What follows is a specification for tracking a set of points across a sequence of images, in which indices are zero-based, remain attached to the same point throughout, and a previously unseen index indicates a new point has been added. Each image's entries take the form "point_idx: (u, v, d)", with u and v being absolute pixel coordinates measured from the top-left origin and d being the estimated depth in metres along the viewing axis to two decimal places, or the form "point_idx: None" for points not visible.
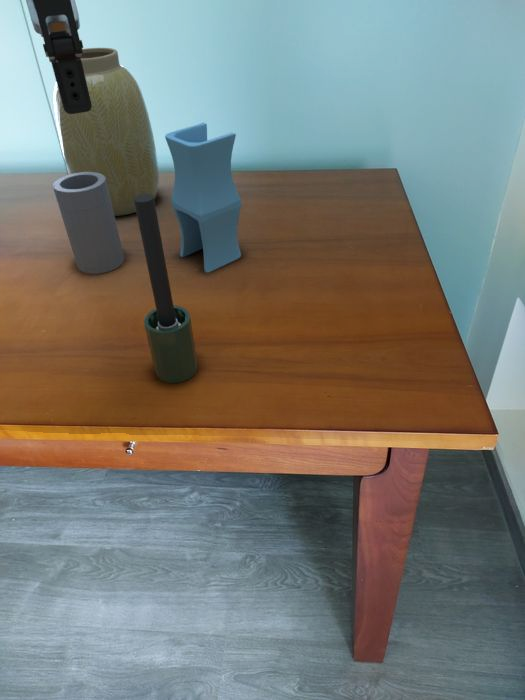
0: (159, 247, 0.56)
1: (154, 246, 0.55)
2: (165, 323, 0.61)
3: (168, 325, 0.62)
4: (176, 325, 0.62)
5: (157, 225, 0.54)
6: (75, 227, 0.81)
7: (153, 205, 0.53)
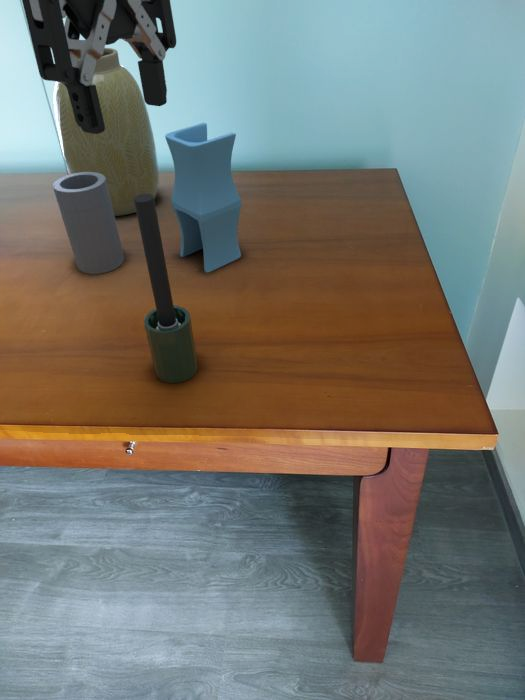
0: (159, 247, 0.56)
1: (154, 246, 0.55)
2: (165, 323, 0.61)
3: (168, 325, 0.62)
4: (176, 325, 0.62)
5: (157, 225, 0.54)
6: (75, 227, 0.81)
7: (153, 205, 0.53)
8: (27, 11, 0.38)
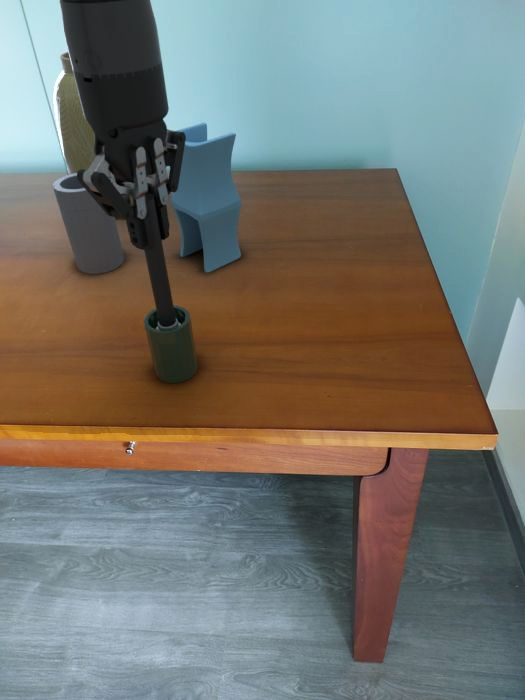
0: (159, 247, 0.56)
1: (154, 246, 0.55)
2: (165, 323, 0.61)
3: (168, 325, 0.62)
4: (176, 325, 0.62)
5: (158, 225, 0.54)
6: (75, 227, 0.81)
7: (154, 205, 0.53)
8: (86, 187, 0.47)
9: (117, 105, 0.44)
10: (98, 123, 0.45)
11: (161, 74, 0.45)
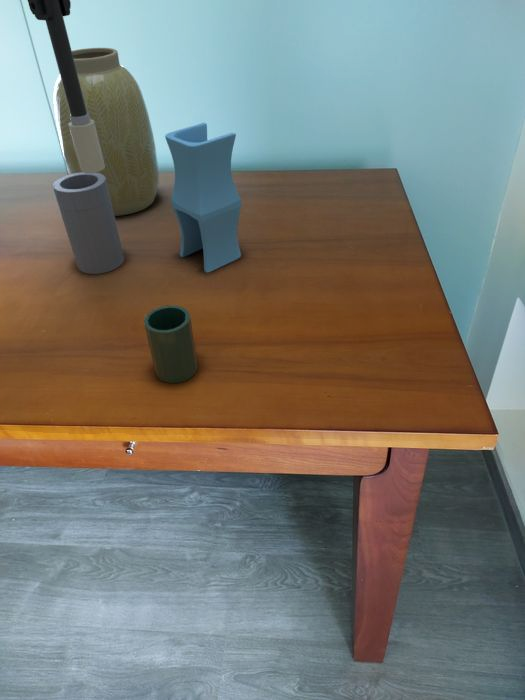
0: (60, 20, 0.59)
1: (54, 18, 0.59)
2: (75, 112, 0.66)
3: (78, 115, 0.66)
4: (87, 117, 0.66)
5: None
6: (75, 227, 0.81)
7: None
8: None
9: None
10: None
11: None
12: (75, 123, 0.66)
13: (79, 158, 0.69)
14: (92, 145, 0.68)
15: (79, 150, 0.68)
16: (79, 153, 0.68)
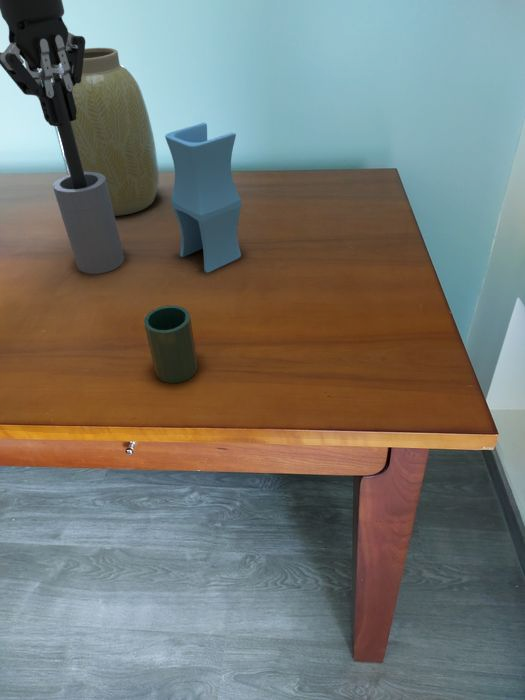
0: (68, 125, 0.74)
1: (64, 124, 0.74)
2: None
3: None
4: None
5: (65, 107, 0.73)
6: (75, 227, 0.81)
7: (60, 90, 0.72)
8: (3, 66, 0.66)
9: (21, 2, 0.62)
10: (9, 17, 0.64)
11: None
12: None
13: None
14: None
15: None
16: None
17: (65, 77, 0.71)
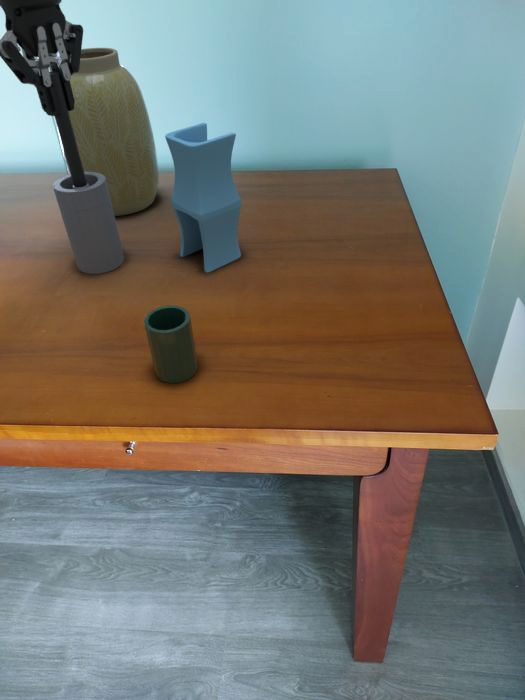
0: (66, 115, 0.73)
1: (61, 114, 0.73)
2: (77, 184, 0.79)
3: (80, 186, 0.80)
4: None
5: (63, 96, 0.72)
6: (75, 227, 0.81)
7: (58, 79, 0.71)
8: (0, 54, 0.65)
9: None
10: (6, 4, 0.63)
11: None
12: None
13: None
14: None
15: None
16: None
17: (63, 66, 0.71)
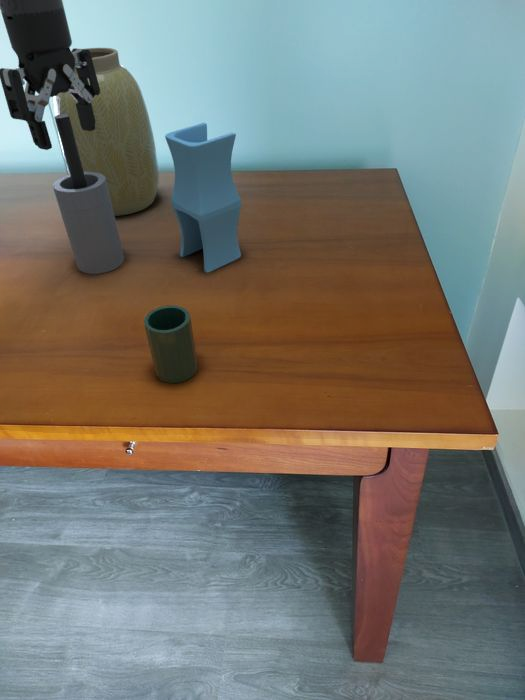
0: (76, 155, 0.77)
1: (72, 153, 0.76)
2: None
3: None
4: None
5: (73, 137, 0.76)
6: (75, 227, 0.81)
7: (69, 121, 0.74)
8: (2, 81, 0.66)
9: (30, 35, 0.64)
10: (19, 49, 0.66)
11: (62, 16, 0.66)
12: None
13: None
14: None
15: None
16: None
17: (85, 89, 0.75)
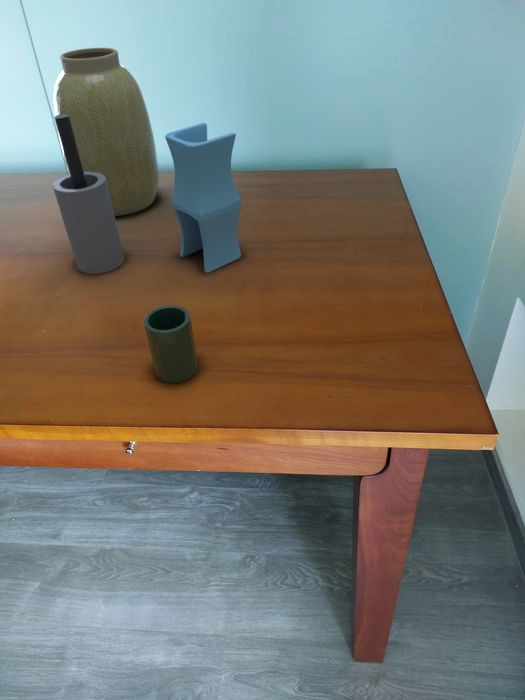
0: (76, 155, 0.77)
1: (72, 153, 0.76)
2: None
3: None
4: None
5: (73, 137, 0.76)
6: (75, 227, 0.81)
7: (69, 121, 0.74)
8: None
9: None
10: None
11: None
12: None
13: None
14: None
15: None
16: None
17: None
